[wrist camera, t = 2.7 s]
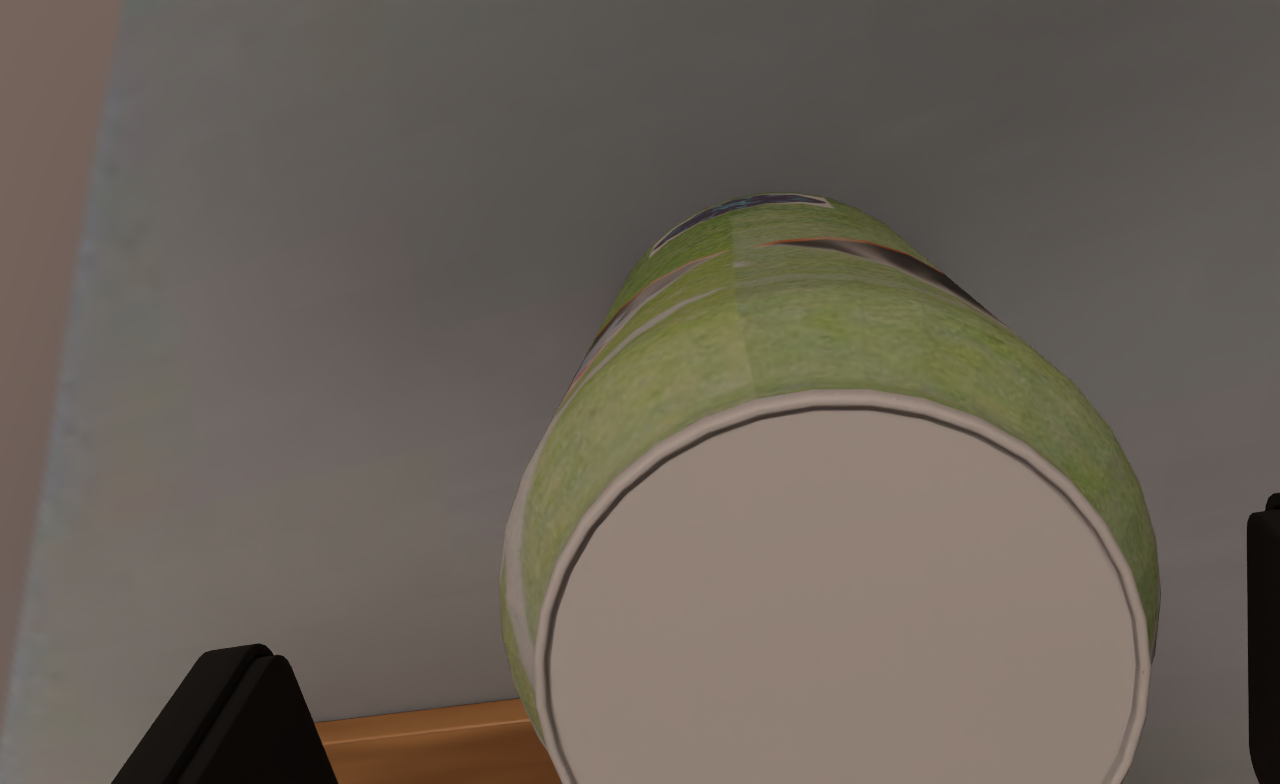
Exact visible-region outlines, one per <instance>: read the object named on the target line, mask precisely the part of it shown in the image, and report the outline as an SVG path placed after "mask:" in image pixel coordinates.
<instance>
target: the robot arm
mask: <svg viewBox="0 0 1280 784" xmlns="http://www.w3.org/2000/svg"><path fill="white" fill-rule="evenodd" d="M1247 592H1248V693H1249V749H1250V756H1251V761H1252V765H1253V768H1254V771H1255V774H1256V777H1257V779H1258V782H1259V784H1280V493H1275V494H1272V495H1271V496H1270V497H1269V498H1268V501H1267V504H1266V509H1265V511H1263V512H1256V513H1252V514H1251V515H1250V516H1249V519H1248V522H1247ZM111 784H338V781H337V779H336V776H335V774H334V771H333V769H332V766H331V764H330V761H329V759H328V756H327V754H326V751H325V749H324V746H323V744H322V742H321V739H320V737H319V734H318V732H317V729H316V727H315V724H314V722H313V719H312V717H311V714H310V712H309V709H308V707H307V704H306V702H305V700H304V697H303V695H302V692H301V690H300V687H299V685H298V682H297V680H296V677H295V675H294V672H293V670H292V667H291V666H290V664H289V662H288V660H287V659H286V658H285V657H284V656H281V655H273V653H272V651H271V650H270V649H269V648H268V647H267V646H266V645H262V644H252V645H245V646H238V647H232V648H225V649H218V650H211V651H208V652H205V653H204V654H203V655H202V656H201V657H200V658H199V659H198V660H197V661H196V663H195V664H194V666H193V667H192V669H191V670H190V671H189V673H188V674H187V676H186V677H185V679H184V680H183V681H182V683H181V684H180V686H179V687H178V689H177V690H176V691H175V693H174V694H173V696H172V697H171V699H170V700H169V701H168V703H167V704H166V706H165V707H164V709H163V710H162V711H161V713H160V714H159V716H158V717H157V719H156V720H155V721H154V723H153V724H152V726H151V727H150V729H149V730H148V731H147V733H146V734H145V736H144V737H143V739H142V740H141V741H140V743H139V744H138V746H137V747H136V749H135V750H134V751H133V753H132V754H131V756H130V757H129V759H128V760H127V761H126V763H125V764H124V766H123V767H122V769H121V770H120V771H119V773H118V774H117V776H116V777H115V779H114V780H113V781H112V783H111Z"/></svg>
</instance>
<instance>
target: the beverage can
mask: <svg viewBox="0 0 1280 784" xmlns="http://www.w3.org/2000/svg"><path fill="white" fill-rule="evenodd" d="M499 592H500V608H501V624H502V636H503V641H504V645H505V649H506V653H507V656H508V660H509V664H510V668H511V672H512V676H513V680H514V684H515V688H516V690H517V692H518V695H519V697H520V699H521V701H522V703H523V706H524V708H525V710H526V712H527V714H528V717H529V719H530V721H531V723H532V725H533V727H534V730H535V732H536V734H537V736H538V738H539V740H540V741H541V743H542V744H543V746H544V747H545V748H546V750H547V751H548V753H549V755H550V758H551V760H552V762H553V764H554V766H555V769H556V771H557V773H558V775H559V777H560V780H561V782H562V784H1121V783H1122V781H1123V779H1124V777H1125V775H1126V774H1127V772H1128V770H1129V768H1130V766H1131V764H1132V761H1133V758H1134V755H1135V752H1136V748H1137V745H1138V742H1139V739H1140V735H1141V732H1142V729H1143V726H1144V723H1145V719H1146V713H1147V704H1148V694H1149V685H1150V675H1151V664H1152V661H1153V658H1154V655H1155V648H1156V638H1157V629H1158V619H1159V610H1160V600H1161V588H1160V577H1159V567H1158V556H1157V545H1156V536H1155V533H1154V530H1153V526H1152V523H1151V520H1150V516H1149V513H1148V510H1147V506H1146V503H1145V500H1144V496H1143V493H1142V490H1141V486H1140V483H1139V481H1138V478H1137V477H1136V475H1135V473H1134V471H1133V469H1132V467H1131V465H1130V463H1129V462H1128V460H1127V458H1126V456H1125V454H1124V452H1123V450H1122V448H1121V446H1120V445H1119V443H1118V441H1117V439H1116V437H1115V435H1114V433H1113V431H1112V430H1111V428H1110V427H1109V426H1108V425H1107V423H1106V422H1105V421H1104V420H1103V418H1102V417H1101V416H1100V415H1099V413H1098V412H1097V411H1096V410H1095V409H1094V407H1093V406H1092V405H1091V404H1090V402H1089V401H1088V400H1087V399H1086V397H1085V396H1084V395H1083V394H1082V393H1081V391H1080V390H1079V389H1078V388H1077V386H1076V385H1075V384H1074V383H1073V382H1072V381H1071V380H1070V379H1069V378H1067V377H1066V376H1065V375H1064V374H1063V373H1062V372H1060V371H1059V370H1058V369H1057V368H1056V367H1054V366H1053V365H1052V364H1051V363H1050V362H1048V361H1047V360H1046V359H1045V358H1044V357H1042V356H1041V355H1040V354H1039V353H1038V352H1036V351H1035V350H1034V349H1033V348H1032V347H1031V346H1029V345H1028V344H1027V343H1026V342H1025V341H1023V340H1022V339H1021V338H1020V337H1019V336H1017V335H1016V334H1015V333H1014V332H1013V331H1011V330H1010V329H1009V328H1008V327H1007V326H1005V325H1004V324H1003V323H1002V322H1001V321H999V320H998V319H997V318H996V317H995V316H994V315H992V314H991V313H990V312H989V311H988V310H986V309H985V308H984V307H983V306H982V305H980V304H979V303H978V302H977V301H976V300H974V299H973V298H972V297H971V296H970V295H968V294H967V293H966V292H965V291H964V290H962V289H961V288H960V287H959V286H958V285H957V284H955V283H954V282H953V281H952V280H951V279H949V278H948V277H947V276H946V275H945V274H943V273H942V272H941V271H940V270H939V269H937V268H936V267H935V266H934V265H933V264H931V263H930V262H929V261H928V260H927V259H925V258H924V257H923V256H922V255H921V254H920V253H918V252H917V251H916V250H915V249H914V248H912V247H911V246H910V245H909V244H908V243H906V242H905V241H904V240H903V239H902V238H900V237H899V236H898V235H897V234H896V233H894V232H893V231H892V230H891V229H890V228H888V227H887V226H886V225H885V224H884V223H882V222H880V221H878V220H877V219H875V218H873V217H871V216H870V215H868V214H866V213H864V212H862V211H861V210H859V209H857V208H855V207H852V206H849V205H846V204H843V203H841V202H838V201H835V200H832V199H829V198H826V197H820V196H814V195H807V194H801V193H795V192H791V193H760V194H755V195H750V196H744V197H739V198H734V199H730V200H727V201H725V202H722V203H720V204H717V205H714V206H712V207H709V208H707V209H704V210H701V211H700V212H698V213H696V214H695V215H693V216H691V217H690V218H688V219H686V220H685V221H683V222H681V223H680V224H678V225H676V226H675V227H673V228H672V229H671V230H670V231H669V232H668V233H666V234H665V235H664V236H663V237H662V238H661V239H659V240H658V241H657V242H656V243H655V244H654V245H653V246H651V247H650V248H649V250H648V251H647V252H646V253H645V255H644V256H643V257H642V258H641V260H640V261H639V262H638V263H637V265H636V266H635V267H634V268H633V270H632V271H631V272H630V274H629V276H628V278H627V280H626V281H625V283H624V285H623V287H622V289H621V291H620V292H619V294H618V296H617V298H616V300H615V302H614V303H613V305H612V307H611V309H610V311H609V313H608V315H607V317H606V319H605V320H604V322H603V324H602V326H601V328H600V330H599V332H598V334H597V336H596V337H595V339H594V341H593V343H592V345H591V347H590V349H589V351H588V353H587V354H586V356H585V358H584V360H583V362H582V364H581V366H580V368H579V370H578V371H577V373H576V375H575V377H574V379H573V381H572V383H571V385H570V387H569V388H568V390H567V392H566V394H565V396H564V398H563V400H562V402H561V404H560V405H559V407H558V409H557V411H556V413H555V415H554V417H553V419H552V421H551V423H550V424H549V426H548V428H547V430H546V432H545V434H544V436H543V438H542V440H541V441H540V443H539V445H538V447H537V449H536V451H535V453H534V455H533V457H532V458H531V460H530V462H529V464H528V466H527V468H526V470H525V472H524V474H523V476H522V479H521V482H520V485H519V488H518V491H517V494H516V497H515V500H514V503H513V506H512V510H511V513H510V516H509V519H508V522H507V525H506V529H505V537H504V545H503V552H502V560H501V568H500V576H499Z"/></svg>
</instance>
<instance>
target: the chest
mask: <svg viewBox="0 0 1280 784" xmlns="http://www.w3.org/2000/svg"><path fill="white" fill-rule="evenodd" d="M314 724H315V727H316V729H317V732H318V734H319V737H320V739H321V742H322V744H323V746H324V749H325V751H326V754H327V756H328V759H329V761H330V764H331V766H332V769H333V771H334V774H335V776H336V779H337V781H338V784H562V782H561V780H560V777H559V775H558V773H557V771H556V769H555V766H554V764H553V762H552V760H551V758H550V755H549V753H548V751H547V750H546V748H545V747H544V746H543V744H542V743H541V741H540V740H539V738H538V736H537V734H536V732H535V730H534V727H533V725H532V723H531V721H530V719H529V717H528V714H527V712H526V710H525V708H524V706H523V703H522V701H521V699H520V698H518V699H509V700H501V701H493V702H484V703H476V704H468V705H459V706H451V707H443V708H434V709H426V710H418V711H409V712H401V713H393V714H384V715H376V716H368V717H359V718H351V719H343V720H335V721H326V722H318V723H314Z"/></svg>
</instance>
